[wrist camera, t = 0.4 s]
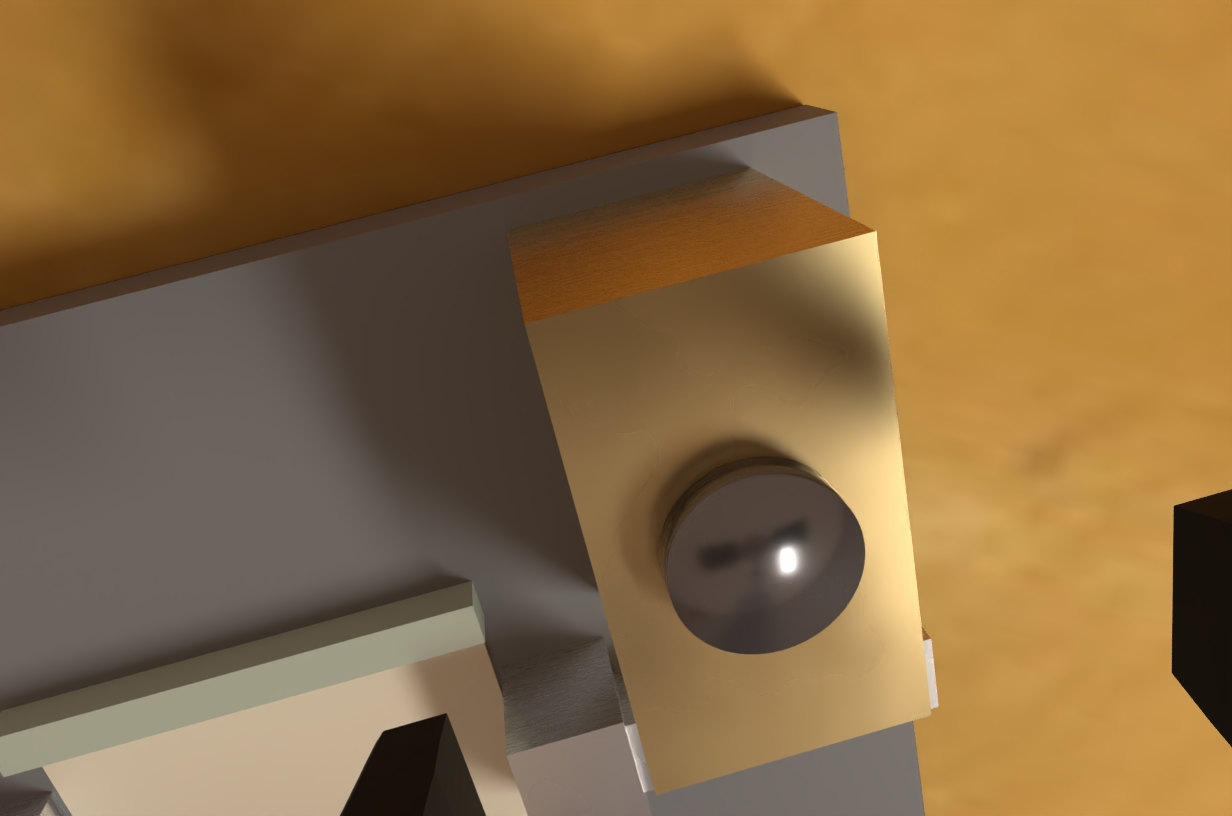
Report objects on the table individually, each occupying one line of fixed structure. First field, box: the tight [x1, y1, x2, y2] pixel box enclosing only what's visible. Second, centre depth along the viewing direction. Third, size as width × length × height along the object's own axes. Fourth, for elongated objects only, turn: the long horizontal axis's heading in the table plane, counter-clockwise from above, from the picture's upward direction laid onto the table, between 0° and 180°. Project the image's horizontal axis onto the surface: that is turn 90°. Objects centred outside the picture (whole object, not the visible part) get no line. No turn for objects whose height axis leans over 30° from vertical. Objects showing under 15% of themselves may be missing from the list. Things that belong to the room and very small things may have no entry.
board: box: [0, 105, 925, 816], centre depth 18 cm, size 18×24×2 cm
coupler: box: [506, 167, 932, 795], centre depth 14 cm, size 7×4×6 cm, turn 13°
